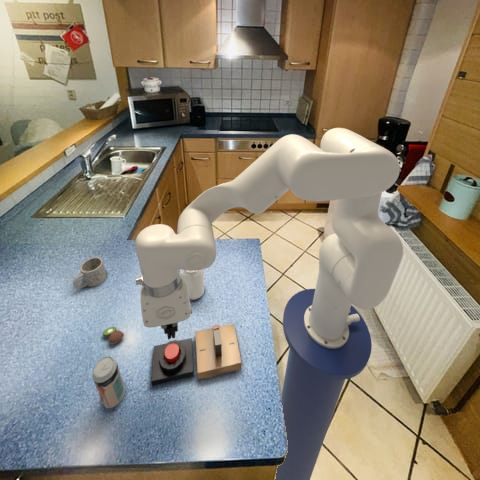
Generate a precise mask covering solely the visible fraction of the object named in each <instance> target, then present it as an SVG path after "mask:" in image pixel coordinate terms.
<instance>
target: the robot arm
mask: <svg viewBox="0 0 480 480" xmlns="http://www.w3.org/2000/svg"><path fill="white" fill-rule="evenodd" d="M400 172H401V166H400V162H399V160H398V158H397V157H396V155H395V154H394V153H393V152H391V151H390V150H389V149H387V148H385V147H384V146H382V145H380V144H378V143H375V142H374V141H372V140H370V139H367V138H366V137H365V136H363V135H360V134H358V133H356V132H354V131H353V130H350V129H348V128H345V127H333V128H330V129H329V130H327V131H325V133H324V134H323V135H322V138H321V140H320V147H319V146H317V145H316V144H315V143H313V142H312V141H311V140H309V139H307V138H305V137H304V136H302V135H299V134H295V133H293V134H292V133H291V134H287V135H284V136H282V137H280V138H279V139H278V140H277V141H275V143H273V144H271V146H270V147H268V148H267V150H265V151H264V152H263V153H262V154H261V155H259V156H258V157H257V158H256V160H254V161H253V162H252V163H251V164H250V165H249V166H247V167H246V169H244V170H243V171H242V172H241V173H240V174H238V175H237V176H236V177H235V178H234V179H232V180H230V181H226V182H223V183H220V184H217V185H214V186H212V187H209V188H208V189H206V190H205V191H203V192H201V193H199V195H198V196H197V197H196V198H195V199H193V200H192V201H191V202H190V203H189V204H188V205H187V206H186V207H185V208H184V209H183V211H182V212H181V213H180V215H179V217H178V220H177V229H176V232H175V230H173V228H172V227H171V226H169V225H167V224H163V223H155V224H151V225H148V226H146V227H144V228H143V229H142V230H140V231H139V233H138V234H137V236H136V238H135V244H134V245H135V251H136V256H137V260H138V265H139V268H140V273H141V276H139V277H136V278H135V285H136V286H139V285H140V286H141V289H140V308H141V309H140V310H141V317H142V323H143V325H144V327H146V328H157V327H160V328H161V329H162V330H163V333H164V335H166V336H167V340H171V339H175V338H176V333H177V332H178V331H179V328H178V327H179V326H178V325H179V324H178V323H180V322H181V323H182V322H184V321H187V320H188V319H189V318H190V317H191V315H192V314H193V306H192V305H191V301H190V300H191V299H190V296H189V291H188V287H187V284H186V281H185V278H184V276H183V272H181V270H182V271H183V270H203V271H204V270H206V269H208V268H210V267H211V266H212V265H213V264H214V263H215V261H216V258H217V247H216V242H215V241H216V240H215V236H214V227H213V223H214V222H215V221H216V220H217V219H219V217H221V216H222V215H224V214H225V213H226V212H228V211H229V210H231V209H234V208H244V209H245V210H246V211H248V212H249V213H251V214H255V215H260V214H262V213H264V212H266V210H268V209H269V208H270V207H271V206H272V205H273V204H275V202H277V201H278V200H279V199H280V198H281V197H282V196H284V195H285V194H286V193H287V192H288V191H291V193H292V194H293V195H294V196H295V197H297V198H298V199H300V200H302V201H306V202H329V201H335V205H334V210H333V213H332V219H331V227H332V230H333V232H334V233H332V234H329V235H327V236H326V237H325V238H324V239H323V240H322V242H321V244H320V247H319V251H318V274H317V279H316V284H315V288H314V289H315V293H314V298H313V303H312V305H311V306H309V307H308V308H307V310H306V311H305V314H304V326H305V329H306V331H307V333H308V334H309V336H310V337H311V338H312V339H313V340H314V341H315V342H316V343H318V344H319V345H321V346H323V347H326V348H331V349H335V348H340V347H342V346H343V345H344V344H345V343H346V342H347V339H348V336H349V327H348V325H350V324H351V322H357V321H360V317H359V315H358V314H352V315H349V316H348V314H349V313H350V312H351V311H350V308H351V305H352V306H355V307H356V308H358V309H361V310H371V309H374V308H376V307H378V306H379V305H380V304H382V303H383V301H384V300H385V299H386V298H387V295H388V294H389V292H390V289H391V288H392V284H393V282H394V280H395V277H396V275H397V272H398V269H399V268H400V265H401V261H402V260H403V259H402V258H403V255H404V246H403V242H402V240H401V238H400V236H399V235H398V234H397V233H396V232H395V231H394V230H393V229H392V227H390V226H389V225H388V224H387V223H385V222H384V221H383V220H382V219H381V218H380V215H379V207H380V203H381V198H382V194H383V193H384V192H386V191H387V190H389V189H390V188H391V187H392V186H393V185H394V184H395V183H396V182H397V180H398V178H399V176H400Z"/></svg>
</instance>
